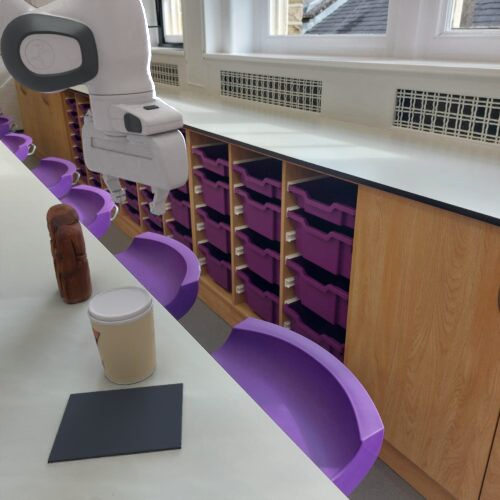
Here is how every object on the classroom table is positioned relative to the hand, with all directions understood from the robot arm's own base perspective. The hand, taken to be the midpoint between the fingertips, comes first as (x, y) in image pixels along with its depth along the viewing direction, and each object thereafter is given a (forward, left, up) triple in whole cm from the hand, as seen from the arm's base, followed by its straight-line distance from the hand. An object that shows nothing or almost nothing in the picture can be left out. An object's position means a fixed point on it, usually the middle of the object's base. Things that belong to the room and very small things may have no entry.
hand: (138, 207), depth 73 cm
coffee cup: (-3, -8, -23) cm, 25 cm away
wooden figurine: (-17, +19, -23) cm, 34 cm away
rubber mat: (-3, -19, -23) cm, 30 cm away
